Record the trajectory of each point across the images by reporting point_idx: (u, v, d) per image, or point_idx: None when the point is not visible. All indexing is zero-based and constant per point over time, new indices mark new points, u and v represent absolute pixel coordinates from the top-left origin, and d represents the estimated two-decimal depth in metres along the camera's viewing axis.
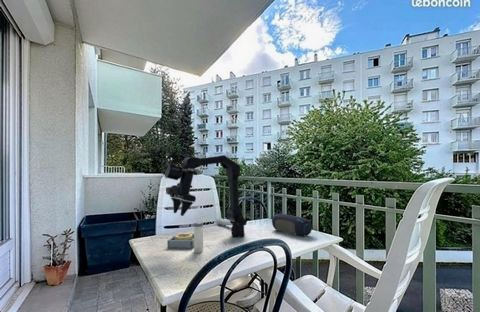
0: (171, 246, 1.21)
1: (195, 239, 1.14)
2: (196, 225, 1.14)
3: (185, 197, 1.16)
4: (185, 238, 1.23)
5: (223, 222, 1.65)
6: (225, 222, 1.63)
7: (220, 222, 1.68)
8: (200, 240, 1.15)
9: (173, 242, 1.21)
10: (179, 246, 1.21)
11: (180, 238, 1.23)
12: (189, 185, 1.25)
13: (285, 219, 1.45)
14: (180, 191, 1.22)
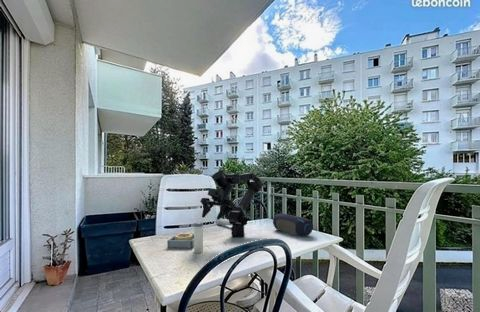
0: (171, 246, 1.21)
1: (195, 239, 1.14)
2: (196, 225, 1.14)
3: (230, 202, 1.22)
4: (185, 238, 1.23)
5: (223, 222, 1.65)
6: (225, 222, 1.64)
7: (220, 222, 1.68)
8: (200, 240, 1.15)
9: (173, 242, 1.21)
10: (179, 246, 1.21)
11: (180, 238, 1.23)
12: (227, 196, 1.31)
13: (286, 219, 1.45)
14: (221, 197, 1.27)
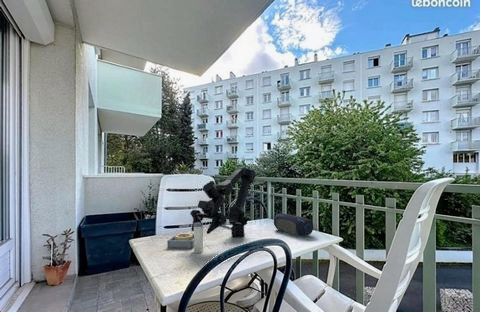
0: (171, 246, 1.21)
1: (195, 239, 1.14)
2: (196, 225, 1.14)
3: (221, 215, 1.16)
4: (185, 238, 1.23)
5: None
6: None
7: None
8: (200, 240, 1.15)
9: (173, 242, 1.21)
10: (179, 246, 1.21)
11: (180, 238, 1.23)
12: (219, 208, 1.25)
13: (286, 219, 1.45)
14: (212, 209, 1.21)
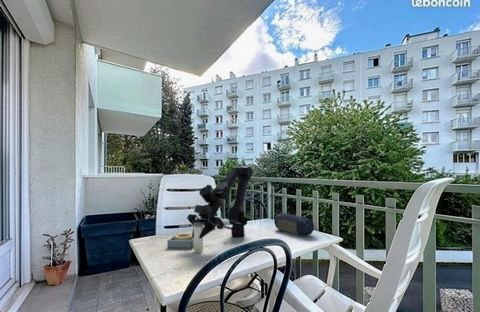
0: (171, 246, 1.21)
1: (195, 239, 1.14)
2: (196, 225, 1.14)
3: (218, 220, 1.14)
4: (185, 238, 1.23)
5: (223, 222, 1.65)
6: (225, 222, 1.64)
7: None
8: (200, 240, 1.14)
9: (173, 242, 1.21)
10: (179, 246, 1.21)
11: (180, 238, 1.23)
12: (216, 212, 1.23)
13: (287, 219, 1.46)
14: (209, 214, 1.19)
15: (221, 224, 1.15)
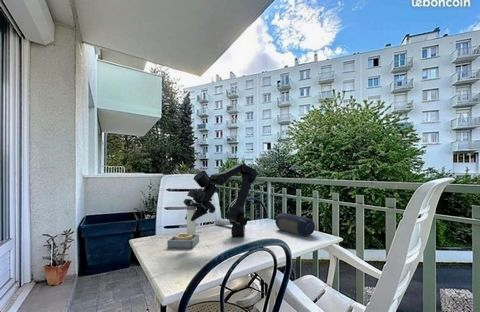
0: (171, 246, 1.21)
1: (187, 222, 1.19)
2: (188, 208, 1.18)
3: (208, 204, 1.16)
4: (185, 238, 1.23)
5: (223, 222, 1.65)
6: (226, 222, 1.64)
7: (220, 222, 1.68)
8: (192, 223, 1.18)
9: (173, 242, 1.21)
10: (179, 246, 1.21)
11: (180, 238, 1.23)
12: (210, 197, 1.26)
13: (288, 219, 1.46)
14: (202, 198, 1.22)
15: (212, 208, 1.18)
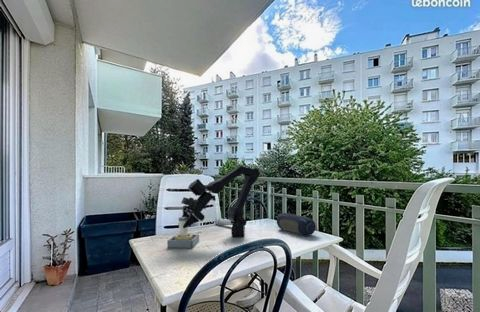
0: (171, 246, 1.21)
1: (179, 232, 1.26)
2: (179, 219, 1.26)
3: (196, 212, 1.21)
4: (185, 238, 1.23)
5: (223, 222, 1.66)
6: (225, 222, 1.64)
7: (219, 222, 1.68)
8: (183, 233, 1.25)
9: (173, 242, 1.21)
10: (179, 246, 1.21)
11: (180, 238, 1.23)
12: (204, 205, 1.30)
13: (289, 218, 1.46)
14: (194, 206, 1.27)
15: (200, 216, 1.22)
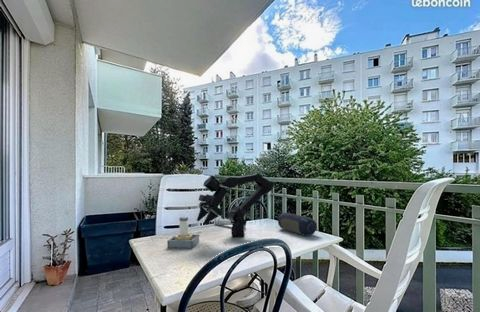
0: (171, 246, 1.21)
1: (180, 232, 1.26)
2: (180, 219, 1.26)
3: (214, 208, 1.26)
4: (185, 238, 1.23)
5: (223, 222, 1.66)
6: (226, 222, 1.64)
7: (219, 222, 1.68)
8: (183, 233, 1.25)
9: (173, 242, 1.21)
10: (179, 246, 1.21)
11: (180, 238, 1.23)
12: (220, 200, 1.35)
13: (290, 218, 1.47)
14: (211, 202, 1.32)
15: (218, 211, 1.27)
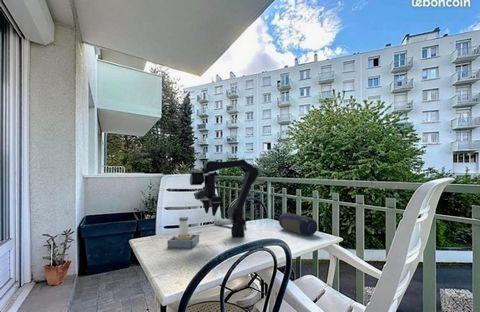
0: (171, 246, 1.21)
1: None
2: (180, 219, 1.26)
3: (213, 200, 1.27)
4: (185, 238, 1.23)
5: (223, 222, 1.66)
6: (226, 222, 1.64)
7: (219, 222, 1.68)
8: (183, 233, 1.25)
9: (173, 242, 1.21)
10: (179, 246, 1.21)
11: (180, 238, 1.23)
12: (214, 187, 1.35)
13: (291, 218, 1.47)
14: (207, 194, 1.33)
15: (218, 200, 1.29)
